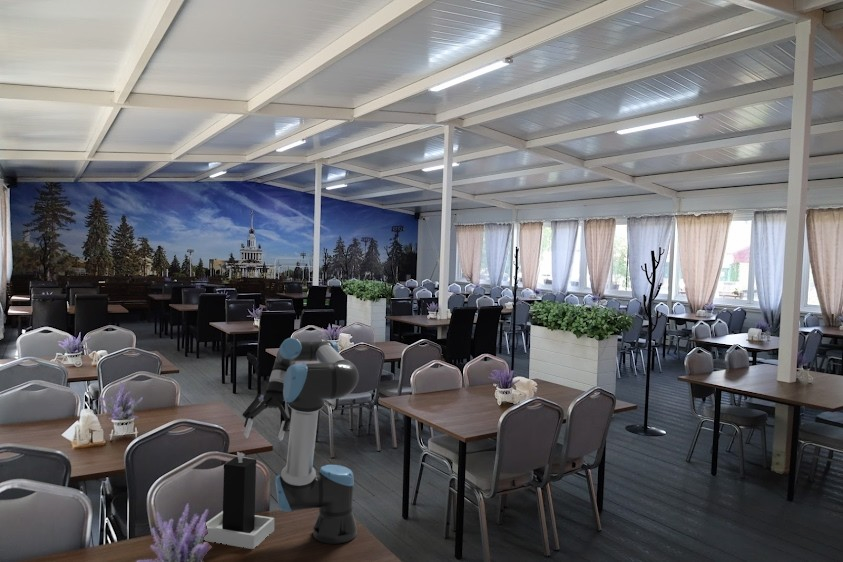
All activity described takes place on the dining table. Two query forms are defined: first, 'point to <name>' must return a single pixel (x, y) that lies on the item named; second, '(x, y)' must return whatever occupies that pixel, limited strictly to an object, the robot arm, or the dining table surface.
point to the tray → (239, 539)
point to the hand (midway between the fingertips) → (262, 438)
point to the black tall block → (239, 494)
